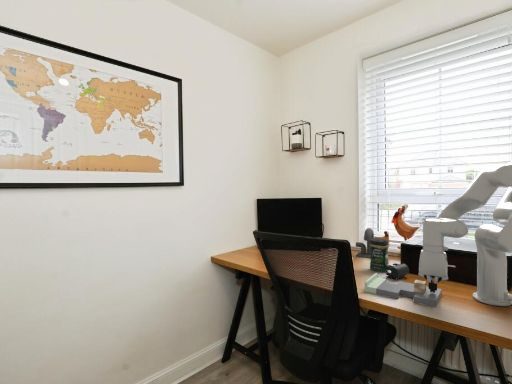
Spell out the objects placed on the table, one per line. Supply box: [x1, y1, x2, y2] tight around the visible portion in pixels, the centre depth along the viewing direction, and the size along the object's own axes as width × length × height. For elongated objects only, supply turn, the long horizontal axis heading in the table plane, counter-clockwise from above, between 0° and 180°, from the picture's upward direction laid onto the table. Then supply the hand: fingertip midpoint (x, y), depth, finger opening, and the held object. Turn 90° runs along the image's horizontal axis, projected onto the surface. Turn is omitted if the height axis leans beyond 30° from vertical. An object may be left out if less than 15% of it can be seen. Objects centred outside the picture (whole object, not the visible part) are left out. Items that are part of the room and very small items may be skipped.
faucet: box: [355, 227, 375, 260], centre depth 188 cm, size 18×16×20 cm
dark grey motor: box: [385, 263, 410, 281], centre depth 150 cm, size 10×7×7 cm
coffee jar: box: [369, 236, 390, 273], centre depth 162 cm, size 10×8×19 cm
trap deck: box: [364, 272, 443, 308], centre depth 129 cm, size 28×16×4 cm, turn 51°
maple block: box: [413, 279, 427, 294], centre depth 124 cm, size 4×4×4 cm
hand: (432, 291), depth 121 cm, fingers closed
